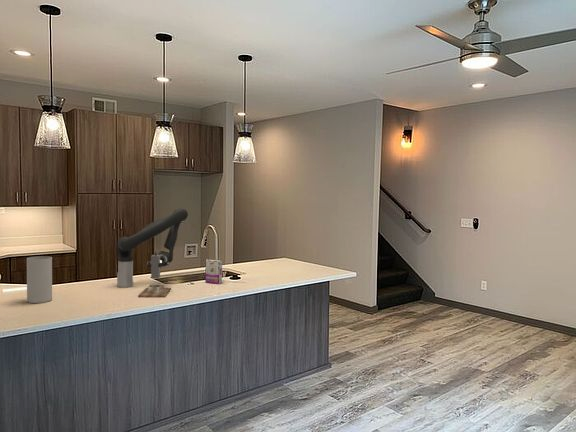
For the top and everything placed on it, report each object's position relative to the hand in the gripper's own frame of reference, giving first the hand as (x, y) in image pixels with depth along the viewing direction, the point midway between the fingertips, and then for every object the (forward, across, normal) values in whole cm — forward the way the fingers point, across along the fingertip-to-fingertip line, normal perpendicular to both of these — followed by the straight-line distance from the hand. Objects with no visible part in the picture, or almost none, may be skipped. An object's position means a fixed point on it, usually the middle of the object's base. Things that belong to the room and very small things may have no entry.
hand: (154, 265), depth 265 cm
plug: (-3, 0, +8) cm, 9 cm away
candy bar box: (-34, +34, +19) cm, 52 cm away
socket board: (-2, 0, +18) cm, 18 cm away
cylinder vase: (+17, -61, +18) cm, 66 cm away
